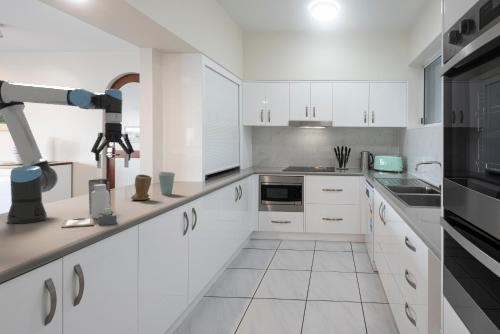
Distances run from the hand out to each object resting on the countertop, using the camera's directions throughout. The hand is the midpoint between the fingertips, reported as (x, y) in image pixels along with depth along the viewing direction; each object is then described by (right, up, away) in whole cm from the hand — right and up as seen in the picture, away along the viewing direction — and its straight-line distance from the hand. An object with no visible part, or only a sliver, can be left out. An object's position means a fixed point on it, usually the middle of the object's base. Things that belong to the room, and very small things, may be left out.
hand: (113, 167), depth 190 cm
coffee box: (-9, -22, +9) cm, 25 cm away
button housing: (+4, -23, -18) cm, 30 cm away
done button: (+4, -21, -18) cm, 28 cm away
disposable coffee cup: (+10, -18, +75) cm, 78 cm away
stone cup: (0, -19, +51) cm, 54 cm away
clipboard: (-8, -24, -21) cm, 32 cm away
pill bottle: (-4, -23, -6) cm, 24 cm away
